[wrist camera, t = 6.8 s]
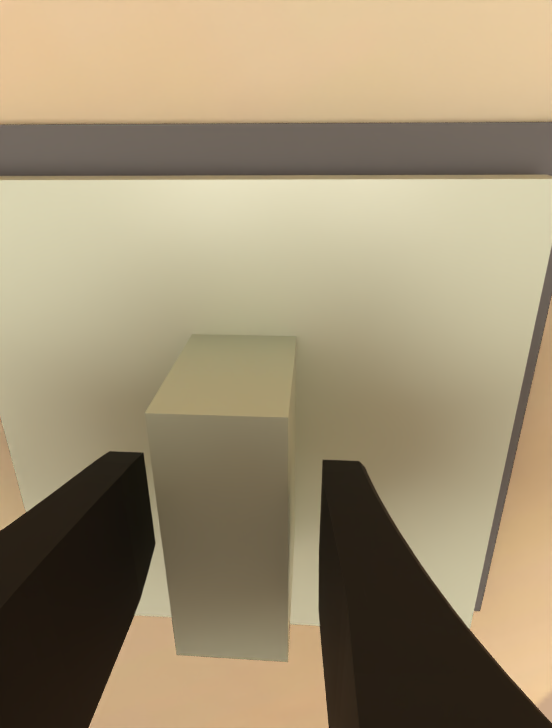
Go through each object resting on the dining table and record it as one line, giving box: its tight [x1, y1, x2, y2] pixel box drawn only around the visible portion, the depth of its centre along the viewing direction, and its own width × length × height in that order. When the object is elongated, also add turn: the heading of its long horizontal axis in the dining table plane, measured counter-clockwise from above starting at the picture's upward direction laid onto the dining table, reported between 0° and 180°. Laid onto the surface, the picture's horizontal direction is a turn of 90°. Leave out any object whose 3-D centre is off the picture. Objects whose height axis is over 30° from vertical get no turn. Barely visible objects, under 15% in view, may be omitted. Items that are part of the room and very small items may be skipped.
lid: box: [0, 175, 552, 662], centre depth 10 cm, size 11×11×4 cm
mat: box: [0, 122, 552, 611], centre depth 12 cm, size 12×12×1 cm
